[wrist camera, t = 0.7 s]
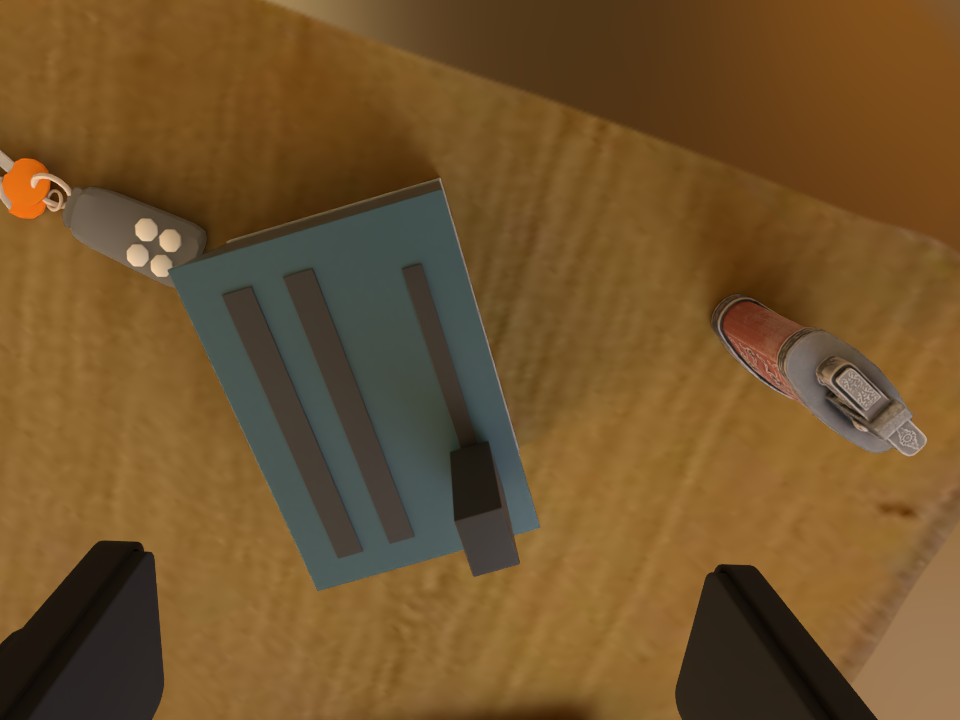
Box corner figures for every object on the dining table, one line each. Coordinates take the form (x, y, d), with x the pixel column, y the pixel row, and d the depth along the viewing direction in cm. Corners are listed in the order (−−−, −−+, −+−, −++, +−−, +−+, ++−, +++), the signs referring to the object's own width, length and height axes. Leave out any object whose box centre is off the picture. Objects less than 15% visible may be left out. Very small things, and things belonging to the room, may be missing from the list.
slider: (488, 440, 26) (502, 507, 21) (503, 489, 27) (520, 564, 22) (449, 451, 26) (453, 521, 21) (465, 500, 27) (473, 578, 22)
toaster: (440, 177, 30) (443, 185, 22) (519, 449, 35) (543, 530, 28) (229, 239, 30) (161, 268, 22) (340, 500, 36) (315, 595, 28)
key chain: (215, 224, 30) (205, 228, 28) (191, 290, 31) (180, 296, 29) (-64, 95, 27) (-91, 92, 26) (-81, 171, 28) (-107, 172, 27)
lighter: (828, 365, 35) (974, 442, 26) (785, 406, 36) (912, 495, 26) (741, 280, 33) (865, 330, 24) (697, 325, 34) (801, 392, 24)
